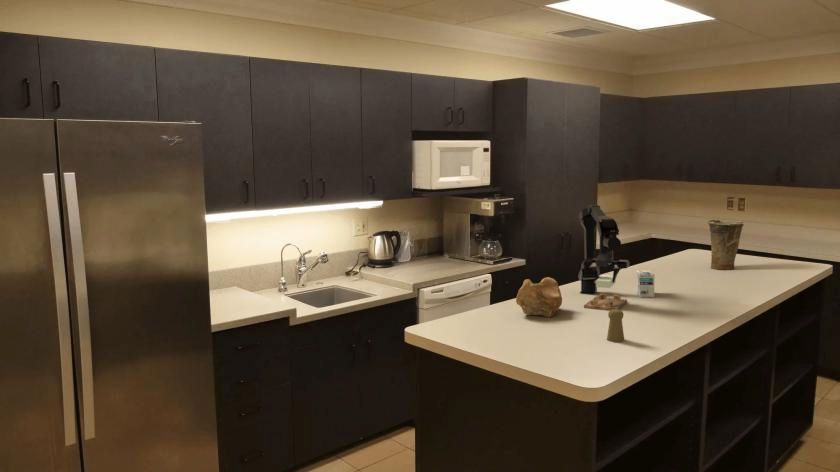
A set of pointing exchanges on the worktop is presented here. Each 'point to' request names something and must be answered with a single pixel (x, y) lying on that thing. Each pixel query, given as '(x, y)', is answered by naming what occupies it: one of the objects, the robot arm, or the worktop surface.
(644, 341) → the worktop surface
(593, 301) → the walnut plate
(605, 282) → the pale green board
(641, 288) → the light bulb box
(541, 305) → the rough brown rock
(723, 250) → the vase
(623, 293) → the worktop surface
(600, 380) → the worktop surface
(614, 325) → the olive tapered pillar
